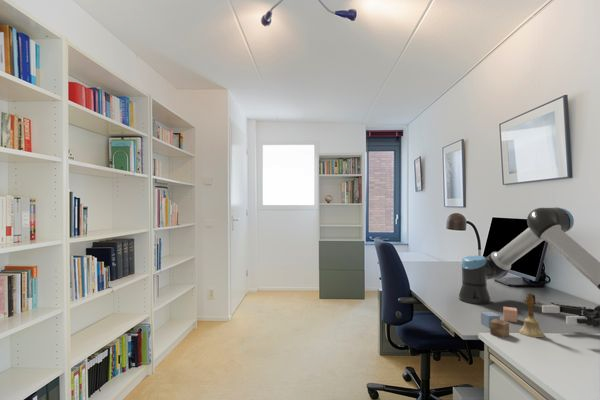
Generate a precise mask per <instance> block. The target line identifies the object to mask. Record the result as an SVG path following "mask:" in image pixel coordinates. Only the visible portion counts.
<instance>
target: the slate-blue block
mask: <svg viewBox="0 0 600 400" xmlns="http://www.w3.org/2000/svg"><path fill="white" fill-rule="evenodd" d="M494 319H498V320H501V316H500V315H499V314H497V313H495V312H493V311H482V312H480V324H481V325H482V326H485V327H486V328H488V329H490V321H492V320H494Z"/></svg>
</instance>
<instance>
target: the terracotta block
mask: <svg viewBox="0 0 600 400" xmlns="http://www.w3.org/2000/svg"><path fill="white" fill-rule="evenodd" d="M502 308H503V309H502V310H503V312H502V313H503V314H502V315H503V321H506V322H509V323H510V322H511V323H518V308H517V307H509V306H502Z"/></svg>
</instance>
